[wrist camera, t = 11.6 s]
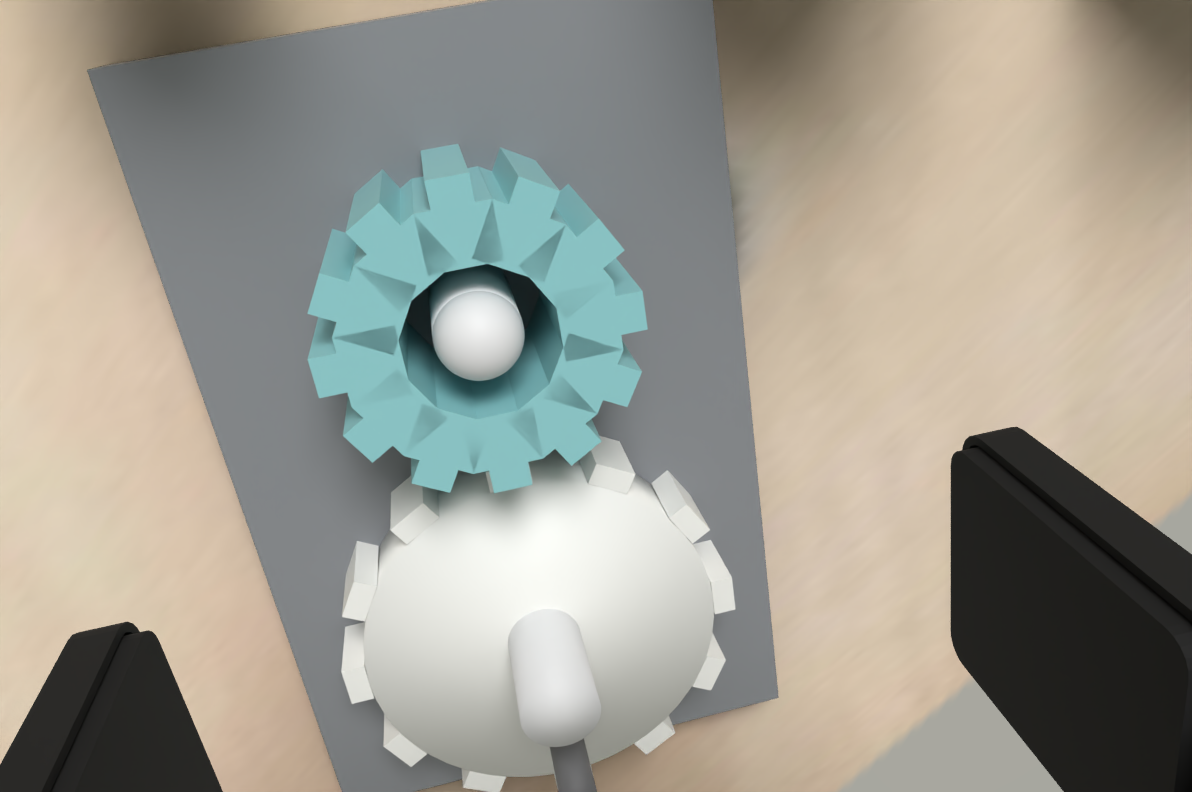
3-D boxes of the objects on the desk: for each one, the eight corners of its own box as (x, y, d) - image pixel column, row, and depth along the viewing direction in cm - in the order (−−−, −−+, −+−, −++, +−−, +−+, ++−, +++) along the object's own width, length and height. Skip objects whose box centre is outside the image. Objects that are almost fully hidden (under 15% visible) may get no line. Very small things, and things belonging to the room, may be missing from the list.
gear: (587, 119, 23) (622, 143, 19) (628, 390, 26) (665, 454, 22) (285, 175, 22) (263, 211, 19) (363, 447, 25) (356, 524, 22)
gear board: (691, -35, 24) (788, -43, 18) (762, 668, 33) (842, 817, 27) (106, 65, 22) (-2, 91, 16) (350, 773, 31) (338, 955, 25)
